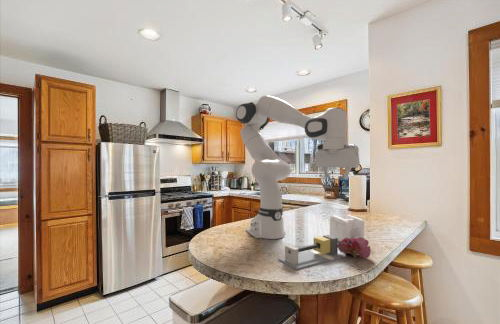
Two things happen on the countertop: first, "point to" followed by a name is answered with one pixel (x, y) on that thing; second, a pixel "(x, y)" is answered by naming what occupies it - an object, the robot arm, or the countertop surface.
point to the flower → (355, 247)
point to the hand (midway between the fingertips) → (335, 178)
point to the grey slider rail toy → (310, 254)
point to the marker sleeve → (322, 244)
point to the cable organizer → (346, 227)
